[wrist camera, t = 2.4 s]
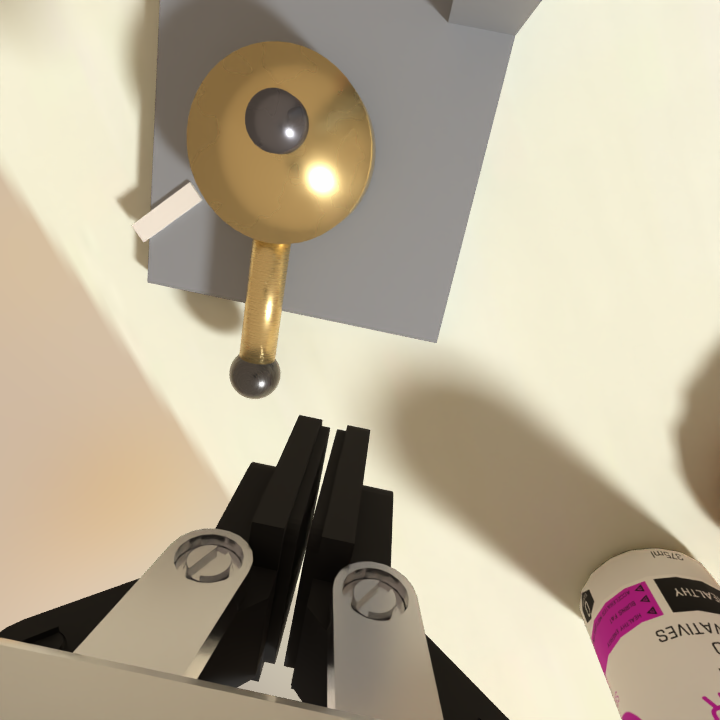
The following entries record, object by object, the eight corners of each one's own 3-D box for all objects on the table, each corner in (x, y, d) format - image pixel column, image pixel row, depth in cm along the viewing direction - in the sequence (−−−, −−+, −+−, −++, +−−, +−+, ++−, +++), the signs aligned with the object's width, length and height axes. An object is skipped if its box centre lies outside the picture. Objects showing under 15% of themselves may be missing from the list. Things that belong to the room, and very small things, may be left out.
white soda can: (594, 652, 35) (714, 966, 21) (561, 558, 33) (673, 843, 19) (720, 625, 34) (942, 949, 20) (696, 525, 31) (927, 810, 17)
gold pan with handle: (219, 41, 24) (181, 15, 20) (391, 75, 23) (387, 56, 20) (193, 367, 29) (160, 397, 25) (331, 397, 29) (319, 431, 25)
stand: (160, -179, 22) (-155, -621, 10) (547, -106, 22) (725, -468, 10) (142, 274, 29) (-55, 349, 17) (435, 336, 29) (454, 458, 16)
